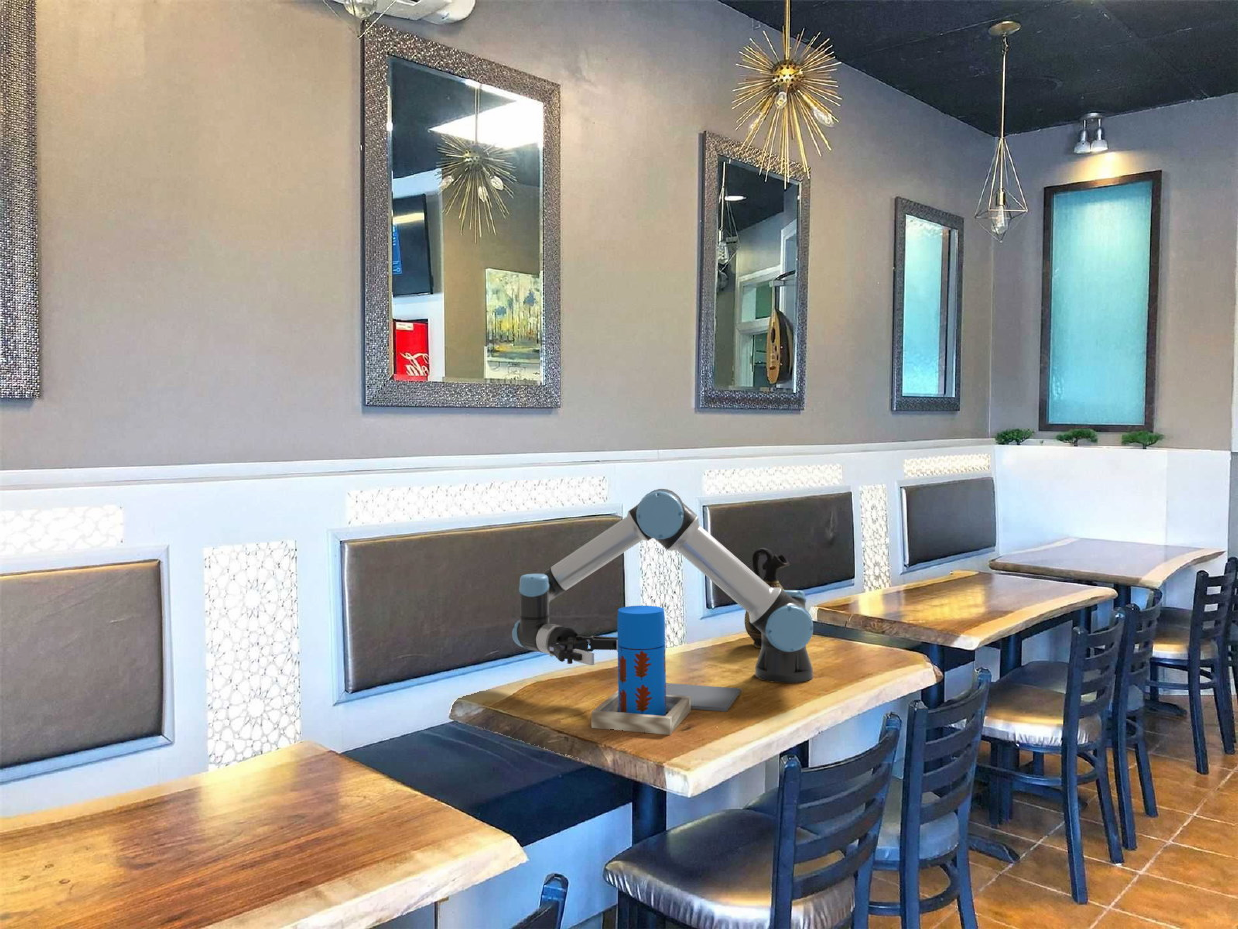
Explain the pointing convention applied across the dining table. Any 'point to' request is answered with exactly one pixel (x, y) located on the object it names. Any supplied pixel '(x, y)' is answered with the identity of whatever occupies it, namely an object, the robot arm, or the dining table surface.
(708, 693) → the rubber mat
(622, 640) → the thermos
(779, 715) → the dining table surface
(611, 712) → the wooden collar
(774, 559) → the ceramic jug
